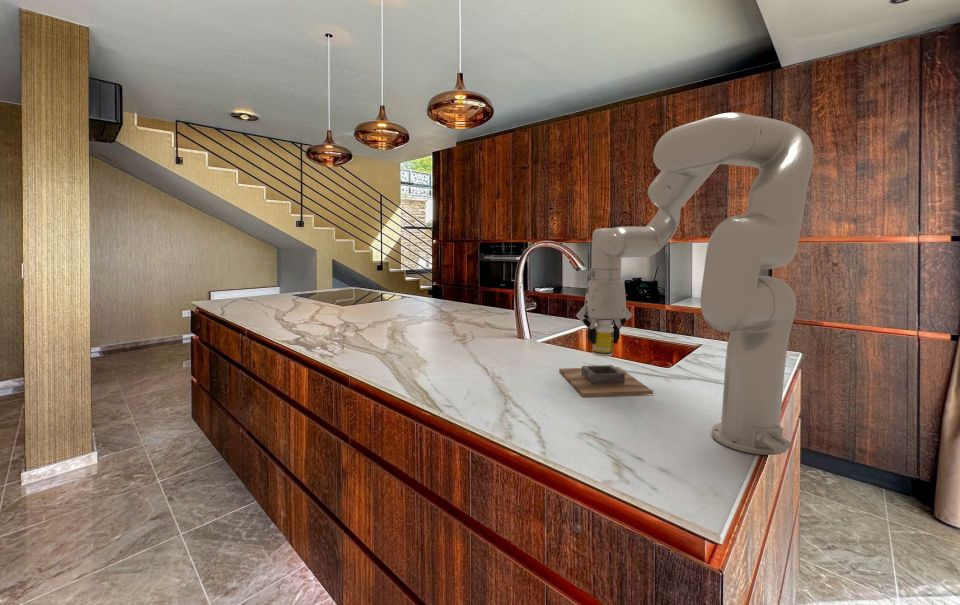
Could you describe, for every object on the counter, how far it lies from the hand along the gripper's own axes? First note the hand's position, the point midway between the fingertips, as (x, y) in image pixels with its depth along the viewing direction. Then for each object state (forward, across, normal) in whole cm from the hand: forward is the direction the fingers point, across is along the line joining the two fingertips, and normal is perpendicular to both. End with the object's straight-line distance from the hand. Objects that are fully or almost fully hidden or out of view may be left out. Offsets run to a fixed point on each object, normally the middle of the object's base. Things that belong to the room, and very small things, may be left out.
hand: (603, 341), depth 121 cm
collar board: (+11, 0, 0) cm, 11 cm away
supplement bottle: (+4, 0, 0) cm, 4 cm away
